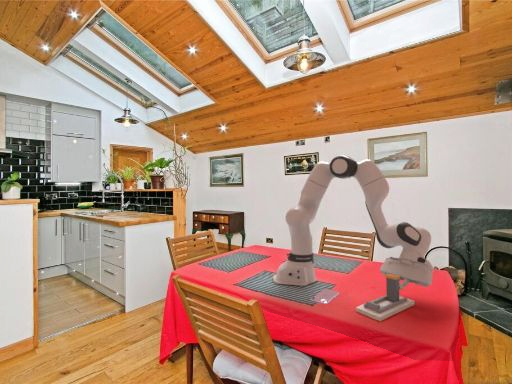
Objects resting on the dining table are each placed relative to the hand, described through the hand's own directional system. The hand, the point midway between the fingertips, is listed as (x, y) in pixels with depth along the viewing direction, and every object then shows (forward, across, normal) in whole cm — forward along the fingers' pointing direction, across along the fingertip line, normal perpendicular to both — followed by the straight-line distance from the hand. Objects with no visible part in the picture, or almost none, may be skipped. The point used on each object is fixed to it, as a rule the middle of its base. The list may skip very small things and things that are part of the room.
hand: (398, 288), depth 114 cm
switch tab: (+6, 0, 0) cm, 6 cm away
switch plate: (+10, 0, -2) cm, 11 cm away
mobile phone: (+18, -22, -9) cm, 30 cm away
